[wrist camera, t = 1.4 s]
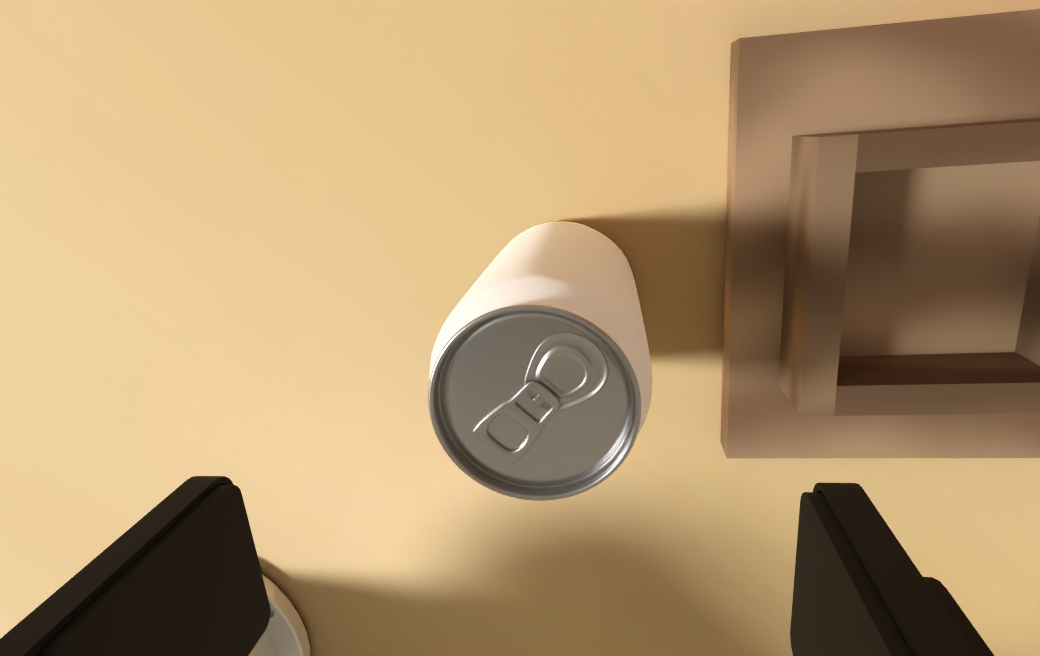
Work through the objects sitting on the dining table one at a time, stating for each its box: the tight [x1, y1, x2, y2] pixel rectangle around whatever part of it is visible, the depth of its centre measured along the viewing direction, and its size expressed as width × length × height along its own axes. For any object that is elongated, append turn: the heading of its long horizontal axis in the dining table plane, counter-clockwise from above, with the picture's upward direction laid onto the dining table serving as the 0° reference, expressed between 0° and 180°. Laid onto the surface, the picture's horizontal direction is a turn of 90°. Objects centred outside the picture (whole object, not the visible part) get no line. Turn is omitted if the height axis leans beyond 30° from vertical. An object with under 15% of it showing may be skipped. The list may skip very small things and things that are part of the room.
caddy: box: [721, 9, 1040, 458], centre depth 23 cm, size 17×14×4 cm
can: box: [428, 221, 652, 501], centre depth 22 cm, size 6×6×12 cm
